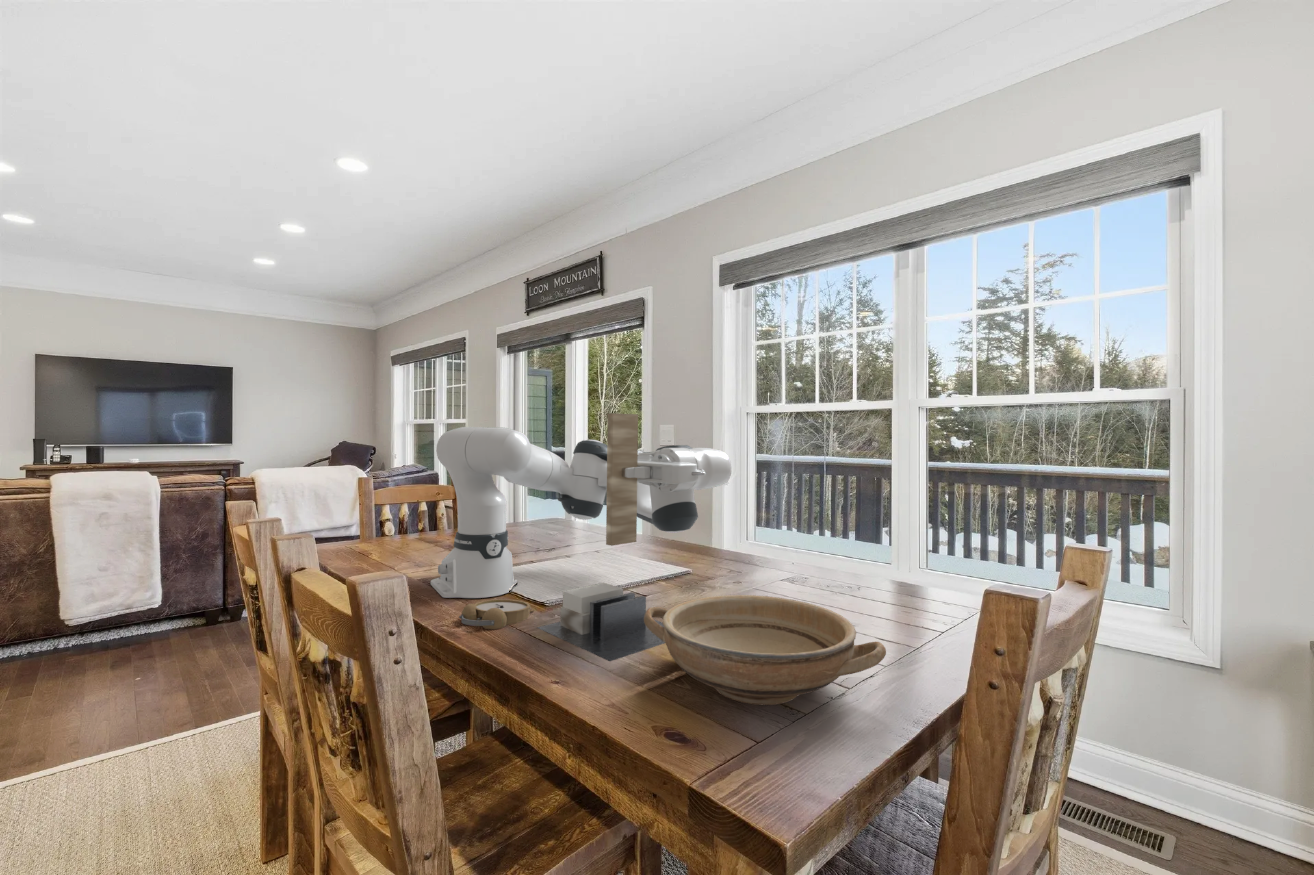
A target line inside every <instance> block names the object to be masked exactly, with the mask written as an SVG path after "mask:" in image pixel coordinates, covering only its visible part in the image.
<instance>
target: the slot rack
mask: <svg viewBox="0 0 1314 875" xmlns="http://www.w3.org/2000/svg"><path fill="white" fill-rule="evenodd" d="M635 596H636V593H633V592H628V593H623V595H619V596H615V597H610V598H606V599H602V600H597V601H593V602H590V633H587V634H584V635H581V634H579V633H577V632H574V631H572V630H570V629H567V628H565V627H563V626H561V621H558V622H553V623H550V624H546V625H541V626H538V627H536V628H537V629H538V630H541V631H542V632H545V633H547V634H549V635H552V636H554V637H556V638H558V639H561V640H563V641H565V642H567V643H569V644H572V645H574V646H576V647H577V648H580V649H582V650H585V651H587V652H589V653H590V654H593V655H594V656H598V657H600V658H602V659H604V660H605V661H608V662H612V661H616V660H618V659H621V658H625V657H628V656H632V655H633V654H636V653H640V652H642V651H645V650H649V649H651V648H654V647H658V646H661V645H665V644H666V643H665V642H663V641H662V640H661V639H660V638H658V637H657V636H656V635H654V634H653V633H652V632H651V631H650V630H649V629H648V628H647V626H646V625H645V623H644V615H645V613H646V611H647V610H646V609H647V596H644V595H641V596H637V597H635ZM654 620H655V621H656V622H657V623H658V624H659V625H661V626H662V627H664V625H663V621H659V620H657V619H654ZM664 628H665V627H664Z"/></svg>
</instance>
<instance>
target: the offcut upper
mask: <svg viewBox="0 0 1314 875" xmlns="http://www.w3.org/2000/svg"><path fill="white" fill-rule="evenodd" d="M623 594H624V587H619V586H616V585H613V584H610V583H606V582H601V583H597V584H596V583H595V584H592V585H591V584H590V585H586V586H581V587H576V588H572V589H568V590H563V591H562V607H565V608H567V609H570V610H572V611H575V612H578V613H580V614H584V613H588V612H590V602H593V601H597V600H602V599H606V598H610V597H615V596H619V595H623Z"/></svg>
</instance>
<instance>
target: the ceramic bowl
mask: <svg viewBox="0 0 1314 875" xmlns="http://www.w3.org/2000/svg"><path fill="white" fill-rule="evenodd" d="M654 618H658V619H659V618H660V619H662V622H663V625H664V627H665V628H664V627H662V626H661V625H659V624H658V623H657V622H656V621H655V620H656V619H654ZM644 623H645V625H646V626H647V628H648V629H649V630H650V631H651V632H652V633H653V634H654V635H656V636H657V637H658V638H660V639H661V640H662V641H663V642H665V643H664V644H665V645H666V648H667V649H668V652H669V654H670V656H671V658H672V660H673V661H674V662H675V663H676V664H677V666H679V668H680V669H681V670H682V671H683V672H684V673H686V674H688V675H689V676H690V677H692V678H693V679H695V680H696V681H699V682H701V683H703V684H705V685H707V686H708V687H712V688H714V689H715V690H716V692H718V693H719V694H720V695H721V696H723V697H724V698H727V699H730V700H732V701H735V702H737V703H738V702H739V703H742V704H743V703H744V704H748V705H755V706H772V705H773V706H774V705H782V704H785V703H788V702H791V701H793V700H794V699H796V698H797V697H798V696H801V695H805V694H808V693H812V692H816V691H818V690H820V689H823V688H825V687H827V686H828V685H830V684H832V683H834V681H836V680H838V678H839V677H842V676H846V675H847V676H848V675H853V674H857V673H861V672H863V671H867V670H869V669H871V668H874V667H875V666H878V664H880V663H881V662H882V661H883V660H884V659H885V658H886V655H887V650H886V647H885V645H884V644H883V643H881V642H880V641H870V642H866V643H862V644H855V640H856V637H857V631H856V628H855V625H853V623H851V622H850V621H849V619H847V618H846V617H844V616H842V615H841V614H839V613H837V612H835V611H833V610H830V609H828V608H825V607H823V606H820V605H816V604H813V603H809V602H806V601H800V600H795V599H791V598H784V597H777V596H768V595H756V594H755V595H754V594H753V595H752V594H750V595H749V594H728V595H727V594H726V595H713V596H706V597H698V598H695V599H692V600H691V599H690V600H687V601H685V602H681V603H678V604H677V605H675V606H672V607H671V608H669V609H667V608H666V607H665V608H664V607H661V606H651V607H648V609H647V610H646V613H645V615H644Z"/></svg>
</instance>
